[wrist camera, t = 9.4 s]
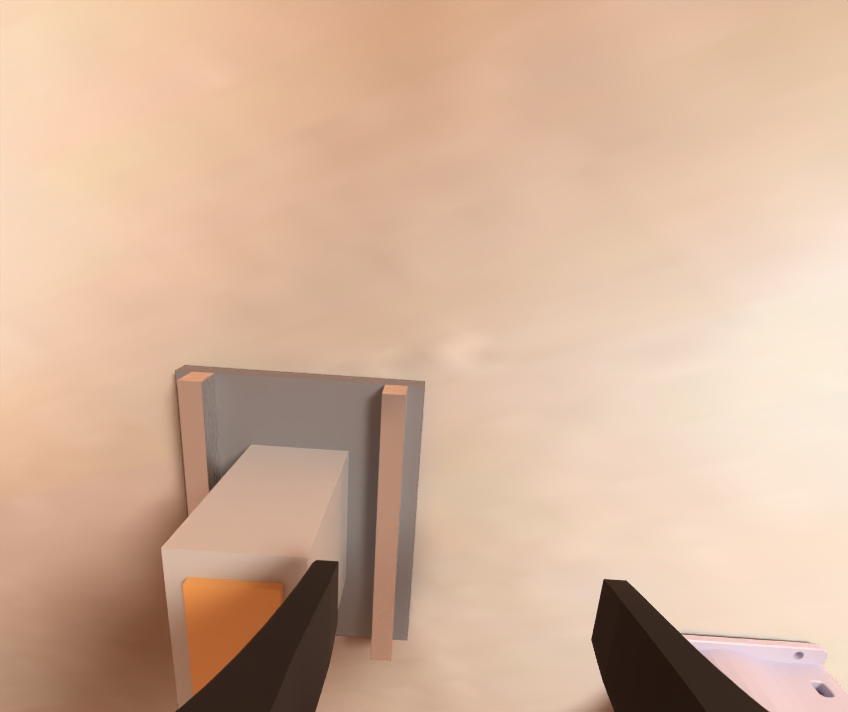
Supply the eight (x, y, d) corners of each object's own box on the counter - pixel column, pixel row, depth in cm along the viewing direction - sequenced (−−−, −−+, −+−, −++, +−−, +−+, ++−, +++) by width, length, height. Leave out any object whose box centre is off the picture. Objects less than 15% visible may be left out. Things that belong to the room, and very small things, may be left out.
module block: (348, 451, 20) (304, 564, 13) (346, 577, 22) (305, 737, 15) (251, 444, 20) (155, 554, 13) (256, 571, 22) (174, 728, 15)
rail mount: (425, 381, 20) (424, 396, 18) (408, 627, 24) (405, 661, 22) (184, 365, 20) (158, 378, 18) (204, 613, 24) (184, 646, 22)
